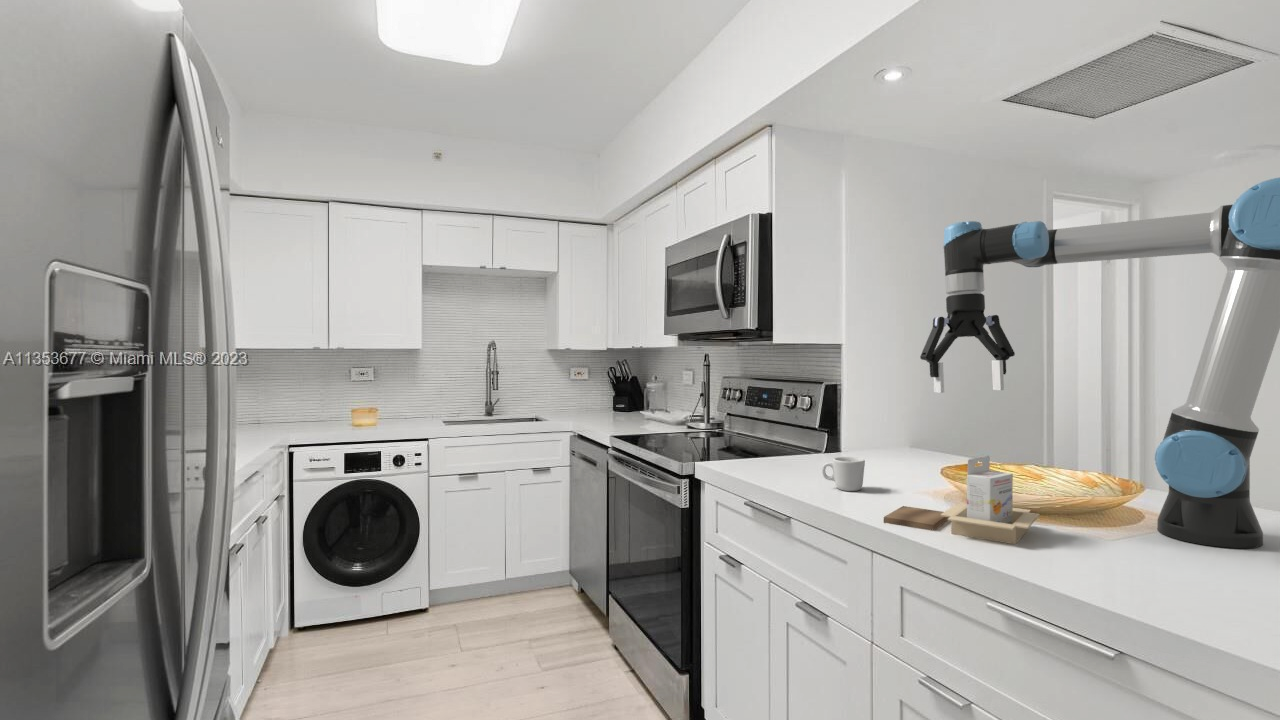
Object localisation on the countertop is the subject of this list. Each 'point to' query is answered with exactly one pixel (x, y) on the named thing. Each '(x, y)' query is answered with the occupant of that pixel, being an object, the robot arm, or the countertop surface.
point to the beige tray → (990, 525)
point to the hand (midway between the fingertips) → (968, 391)
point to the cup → (846, 472)
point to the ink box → (989, 492)
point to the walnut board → (916, 518)
